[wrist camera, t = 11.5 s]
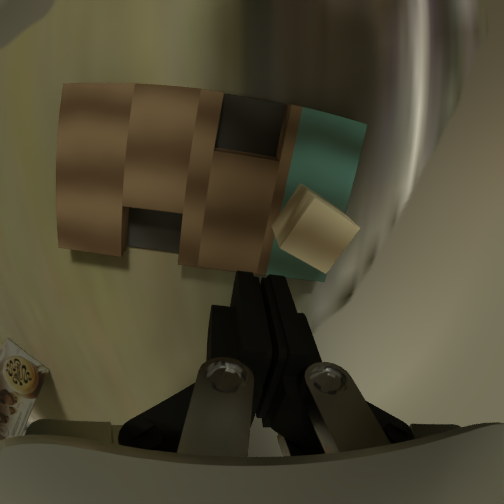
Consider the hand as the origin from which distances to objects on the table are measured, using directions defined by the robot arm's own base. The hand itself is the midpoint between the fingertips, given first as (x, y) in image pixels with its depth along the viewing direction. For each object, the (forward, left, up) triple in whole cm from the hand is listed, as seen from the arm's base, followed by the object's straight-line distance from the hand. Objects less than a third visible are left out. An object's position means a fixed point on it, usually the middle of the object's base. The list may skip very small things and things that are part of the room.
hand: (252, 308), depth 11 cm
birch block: (+2, +7, -19) cm, 21 cm away
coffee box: (+33, -31, -22) cm, 51 cm away
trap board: (0, -3, -22) cm, 22 cm away
